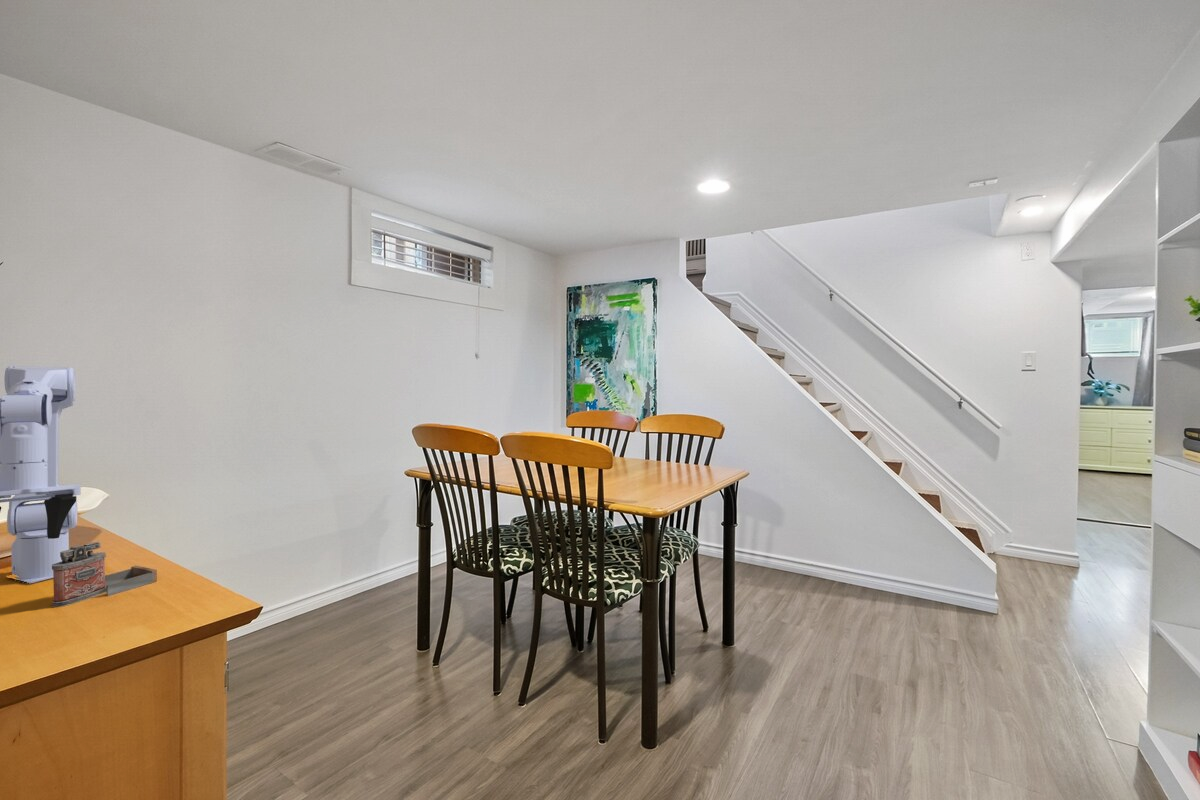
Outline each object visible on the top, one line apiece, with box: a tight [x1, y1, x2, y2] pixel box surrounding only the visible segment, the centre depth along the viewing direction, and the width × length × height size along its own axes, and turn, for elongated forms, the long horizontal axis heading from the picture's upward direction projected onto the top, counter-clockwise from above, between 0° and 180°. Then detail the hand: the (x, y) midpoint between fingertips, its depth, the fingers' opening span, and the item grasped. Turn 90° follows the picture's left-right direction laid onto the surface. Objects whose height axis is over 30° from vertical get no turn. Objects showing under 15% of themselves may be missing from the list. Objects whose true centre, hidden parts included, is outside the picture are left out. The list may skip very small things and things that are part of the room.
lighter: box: [51, 541, 107, 608], centre depth 98 cm, size 8×3×10 cm, turn 168°
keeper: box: [105, 565, 158, 597], centre depth 105 cm, size 7×8×2 cm
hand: (23, 543), depth 90 cm, fingers open, 7 cm apart
